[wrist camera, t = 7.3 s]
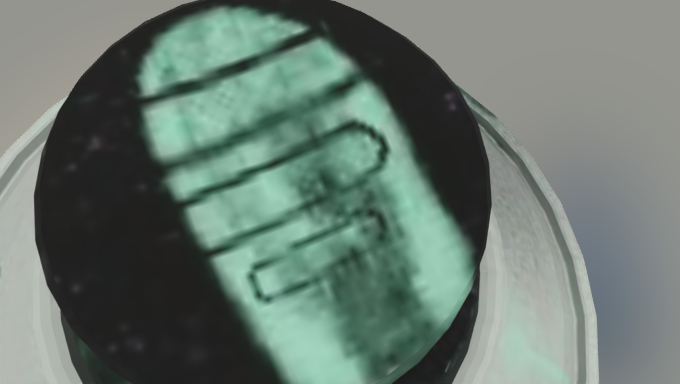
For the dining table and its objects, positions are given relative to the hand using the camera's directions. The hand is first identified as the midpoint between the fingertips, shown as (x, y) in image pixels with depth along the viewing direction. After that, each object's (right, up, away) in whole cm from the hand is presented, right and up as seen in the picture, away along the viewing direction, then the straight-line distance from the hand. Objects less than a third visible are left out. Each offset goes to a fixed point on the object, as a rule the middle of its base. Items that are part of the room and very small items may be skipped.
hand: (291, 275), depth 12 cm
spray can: (-1, -6, +9) cm, 11 cm away
